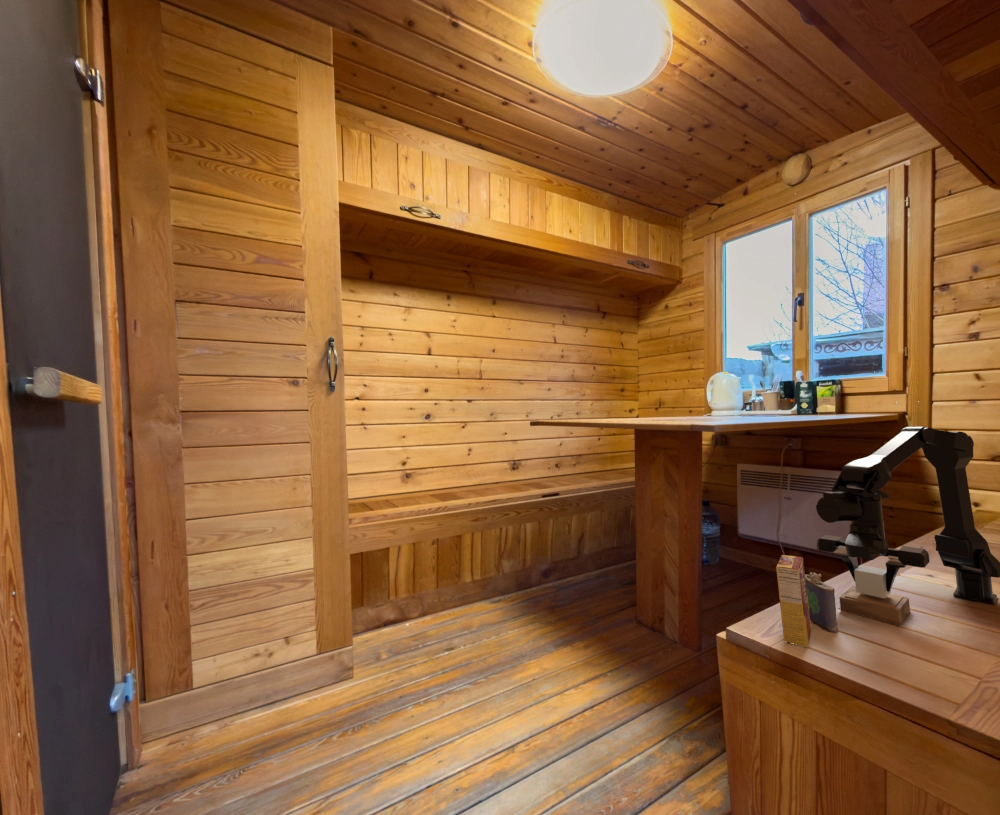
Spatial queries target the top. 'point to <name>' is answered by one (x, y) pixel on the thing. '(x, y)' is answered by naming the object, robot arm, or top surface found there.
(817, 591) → the flask
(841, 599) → the walnut plinth
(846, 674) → the top surface
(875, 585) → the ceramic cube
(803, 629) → the candy box
